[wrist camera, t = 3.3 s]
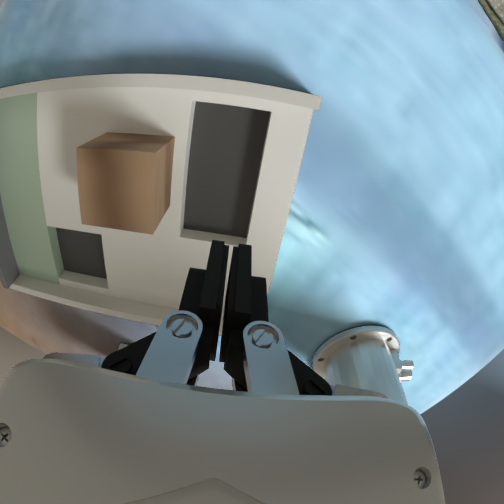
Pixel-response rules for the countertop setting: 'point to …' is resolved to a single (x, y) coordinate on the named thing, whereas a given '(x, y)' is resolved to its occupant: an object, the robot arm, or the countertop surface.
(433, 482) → the robot arm
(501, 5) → the dish towel
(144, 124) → the box
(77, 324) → the countertop surface
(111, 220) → the block
